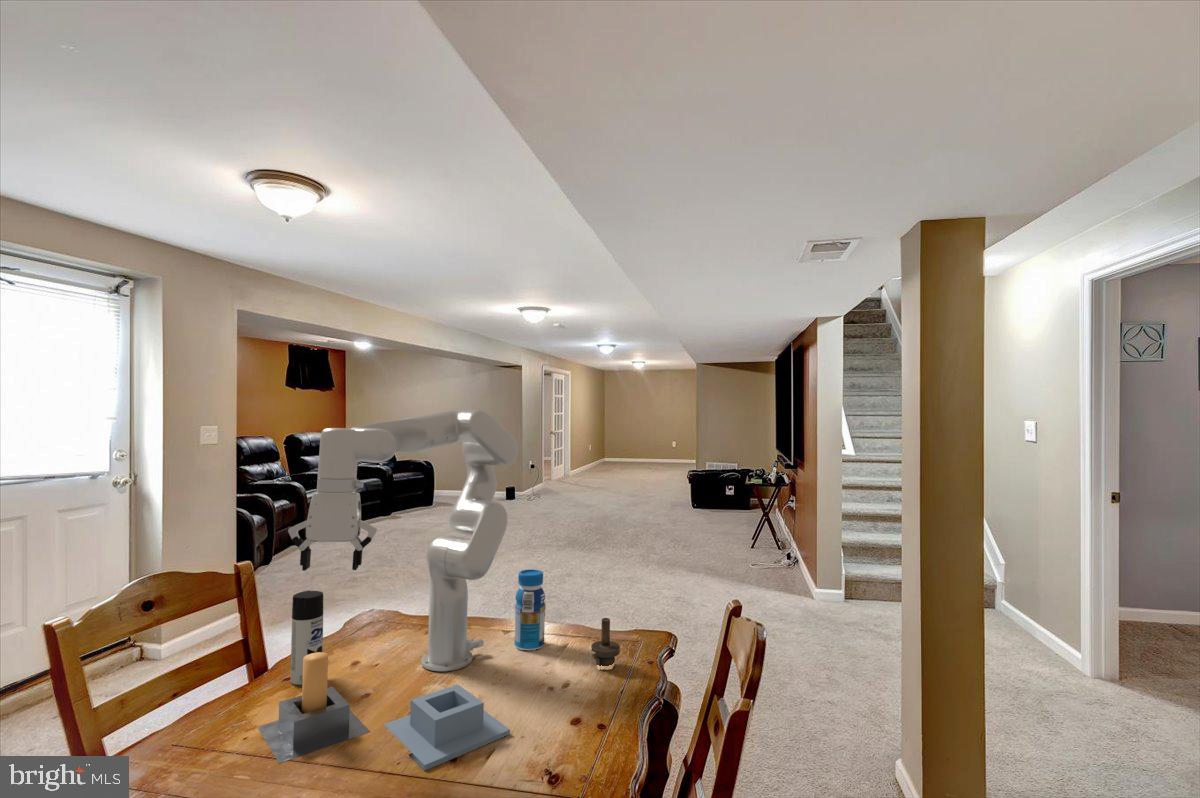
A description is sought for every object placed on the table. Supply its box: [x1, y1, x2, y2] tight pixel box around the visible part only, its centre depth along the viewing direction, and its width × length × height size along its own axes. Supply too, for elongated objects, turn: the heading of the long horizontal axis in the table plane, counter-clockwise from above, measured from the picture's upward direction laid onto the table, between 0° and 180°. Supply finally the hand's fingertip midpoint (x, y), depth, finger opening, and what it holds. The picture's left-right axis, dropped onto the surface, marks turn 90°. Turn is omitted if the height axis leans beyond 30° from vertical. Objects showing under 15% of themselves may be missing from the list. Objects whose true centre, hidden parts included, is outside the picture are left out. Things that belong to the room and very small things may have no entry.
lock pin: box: [301, 652, 329, 714], centre depth 115 cm, size 4×4×14 cm
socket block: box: [383, 684, 511, 772], centre depth 116 cm, size 18×18×6 cm
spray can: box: [290, 590, 324, 686], centre depth 138 cm, size 7×7×20 cm
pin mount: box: [257, 686, 371, 765], centre depth 115 cm, size 16×16×6 cm
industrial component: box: [590, 617, 621, 666], centre depth 147 cm, size 9×7×12 cm
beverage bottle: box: [513, 568, 547, 651], centre depth 160 cm, size 8×8×20 cm
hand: (330, 568), depth 122 cm, fingers open, 9 cm apart
